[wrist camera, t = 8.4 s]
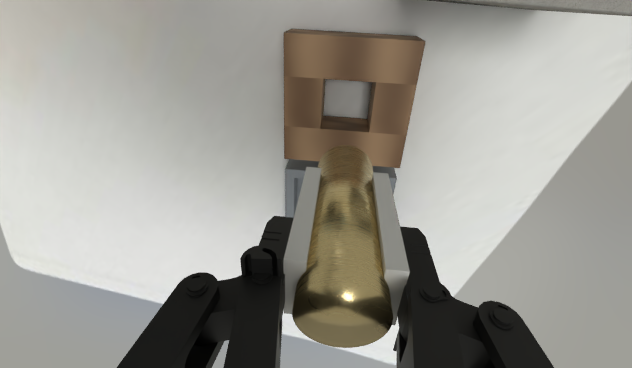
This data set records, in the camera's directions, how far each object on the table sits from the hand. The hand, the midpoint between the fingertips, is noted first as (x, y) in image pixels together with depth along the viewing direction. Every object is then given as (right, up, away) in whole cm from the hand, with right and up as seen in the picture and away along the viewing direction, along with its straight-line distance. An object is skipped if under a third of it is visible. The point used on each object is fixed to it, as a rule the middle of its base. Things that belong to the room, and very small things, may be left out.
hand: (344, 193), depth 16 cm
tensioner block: (+2, +10, +17) cm, 20 cm away
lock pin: (0, +1, +2) cm, 3 cm away
